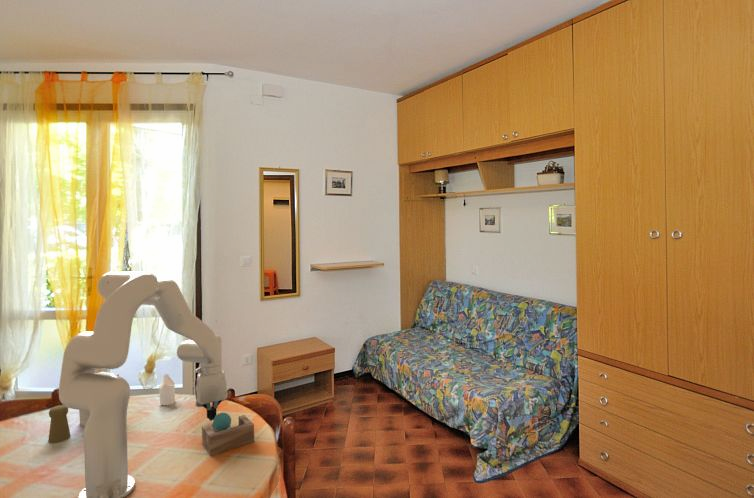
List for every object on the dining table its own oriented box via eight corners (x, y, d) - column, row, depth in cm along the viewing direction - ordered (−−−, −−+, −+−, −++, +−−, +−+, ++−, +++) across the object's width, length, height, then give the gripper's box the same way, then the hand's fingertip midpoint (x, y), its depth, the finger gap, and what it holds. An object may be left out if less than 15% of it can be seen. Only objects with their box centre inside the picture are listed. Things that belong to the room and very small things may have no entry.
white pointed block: (171, 376, 166) (156, 376, 165) (172, 405, 166) (157, 406, 165) (176, 371, 172) (161, 372, 171) (176, 399, 172) (162, 400, 171)
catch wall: (254, 442, 137) (253, 424, 136) (210, 456, 128) (210, 437, 128) (244, 431, 144) (244, 414, 143) (202, 444, 135) (201, 426, 135)
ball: (228, 407, 148) (225, 421, 150) (212, 411, 144) (208, 425, 145) (235, 418, 144) (231, 432, 146) (219, 422, 140) (215, 437, 141)
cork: (44, 440, 138) (43, 408, 138) (64, 432, 143) (63, 401, 143) (53, 444, 135) (52, 411, 135) (74, 436, 141) (73, 405, 140)
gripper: (191, 376, 142) (192, 428, 143) (234, 367, 151) (235, 417, 152) (186, 370, 148) (187, 421, 149) (228, 362, 157) (229, 410, 158)
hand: (211, 418), depth 150 cm, fingers closed
